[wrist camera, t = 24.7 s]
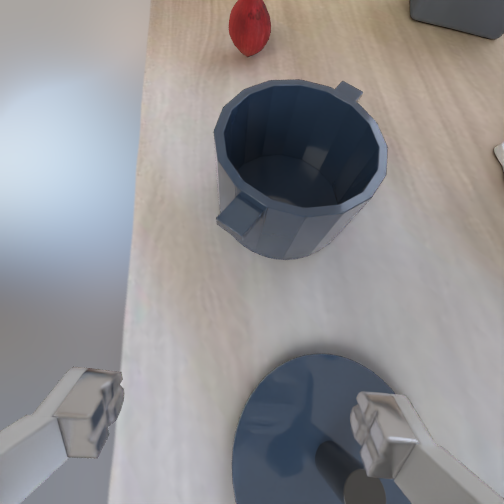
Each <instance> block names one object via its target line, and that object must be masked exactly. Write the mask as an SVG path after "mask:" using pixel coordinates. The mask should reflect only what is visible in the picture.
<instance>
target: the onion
mask: <svg viewBox="0 0 504 504" xmlns="http://www.w3.org/2000/svg"><path fill="white" fill-rule="evenodd" d="M270 33H271V22H270V16H269V13H268V11H267V8H266V6H265V4H264V2H263V0H238V1H237V2H236V4H235V5H234V7H233V9H232V11H231V14H230V19H229V34H230V37H231V39H232V41H233V43H234V45H235V46H236V47H237V48H238V49H239V50H240V52H241V53H243V54H244V55H245V56H247V57H249V56H251V55H254V54H256V53H258V52H259V51H261V50H262V49H263V48H264V46H265V45H266V43H267V41H268V40H269V36H270Z"/></svg>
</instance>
